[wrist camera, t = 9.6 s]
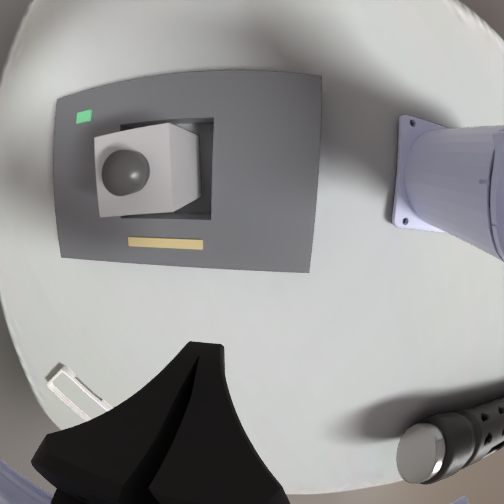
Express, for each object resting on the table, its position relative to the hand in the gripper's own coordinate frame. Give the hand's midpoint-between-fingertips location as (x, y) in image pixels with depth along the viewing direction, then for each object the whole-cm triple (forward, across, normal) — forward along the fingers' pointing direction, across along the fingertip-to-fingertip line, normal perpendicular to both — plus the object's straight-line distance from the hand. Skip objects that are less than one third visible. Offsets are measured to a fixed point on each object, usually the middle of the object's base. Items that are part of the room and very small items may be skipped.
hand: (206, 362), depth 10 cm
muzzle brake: (+10, -35, +22) cm, 42 cm away
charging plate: (+9, +4, -7) cm, 12 cm away
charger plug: (+10, +4, -7) cm, 13 cm away
